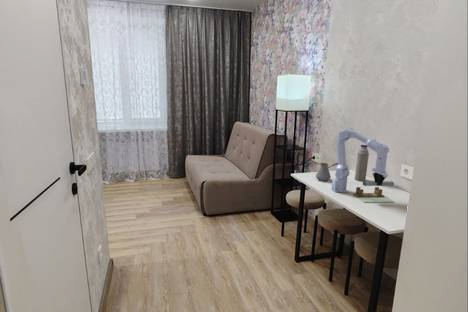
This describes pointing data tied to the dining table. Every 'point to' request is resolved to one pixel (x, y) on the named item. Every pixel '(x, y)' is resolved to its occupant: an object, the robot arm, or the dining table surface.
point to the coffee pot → (324, 172)
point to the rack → (360, 193)
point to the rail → (387, 183)
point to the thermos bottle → (361, 163)
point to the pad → (376, 200)
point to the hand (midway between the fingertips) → (378, 184)
